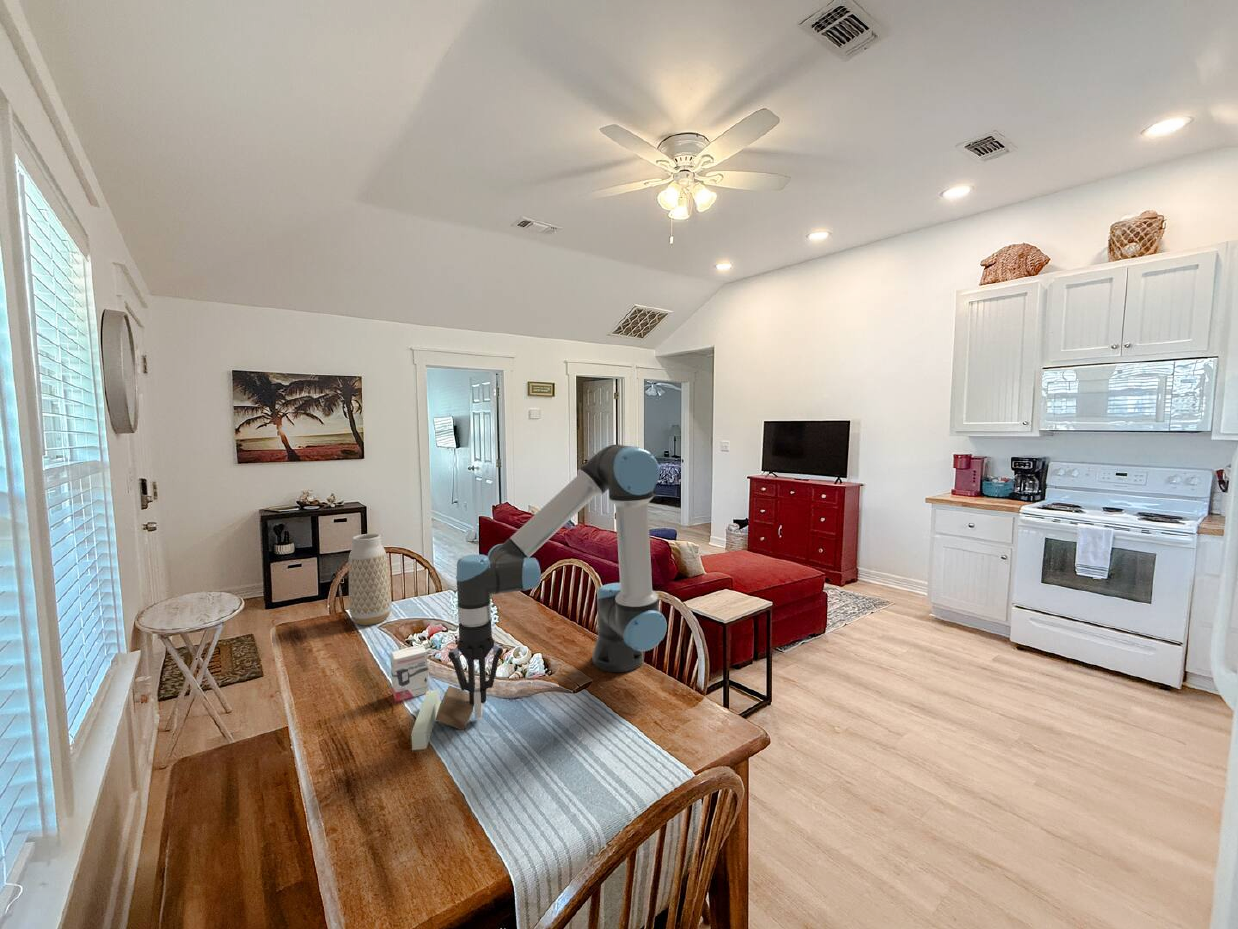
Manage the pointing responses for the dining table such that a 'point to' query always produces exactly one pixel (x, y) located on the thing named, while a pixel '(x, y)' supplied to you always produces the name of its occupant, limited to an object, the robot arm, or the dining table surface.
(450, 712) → the push block
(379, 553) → the vase
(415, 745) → the board
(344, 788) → the dining table surface
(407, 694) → the ink box
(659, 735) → the dining table surface
